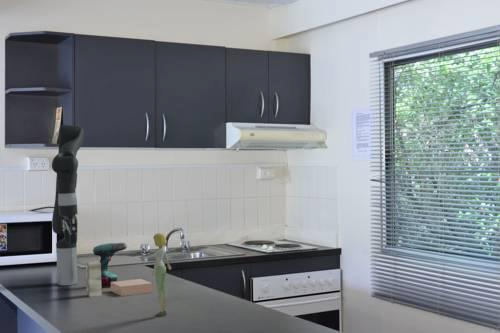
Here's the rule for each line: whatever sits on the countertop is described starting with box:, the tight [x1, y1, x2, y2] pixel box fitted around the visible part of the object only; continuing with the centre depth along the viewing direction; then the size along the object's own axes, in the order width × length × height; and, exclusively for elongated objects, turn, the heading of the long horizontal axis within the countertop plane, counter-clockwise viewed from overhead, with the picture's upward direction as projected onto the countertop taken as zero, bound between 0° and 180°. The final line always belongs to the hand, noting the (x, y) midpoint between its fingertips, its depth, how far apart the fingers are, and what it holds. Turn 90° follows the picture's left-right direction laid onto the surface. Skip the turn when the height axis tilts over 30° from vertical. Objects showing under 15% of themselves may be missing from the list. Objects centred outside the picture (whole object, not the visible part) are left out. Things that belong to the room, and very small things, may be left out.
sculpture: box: [150, 232, 172, 317], centre depth 256 cm, size 13×5×30 cm, turn 157°
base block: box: [110, 278, 153, 297], centre depth 304 cm, size 14×14×4 cm
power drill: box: [92, 242, 128, 288], centre depth 319 cm, size 7×16×20 cm, turn 78°
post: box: [85, 261, 103, 298], centre depth 298 cm, size 5×5×14 cm
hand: (70, 242), depth 294 cm, fingers open, 8 cm apart
